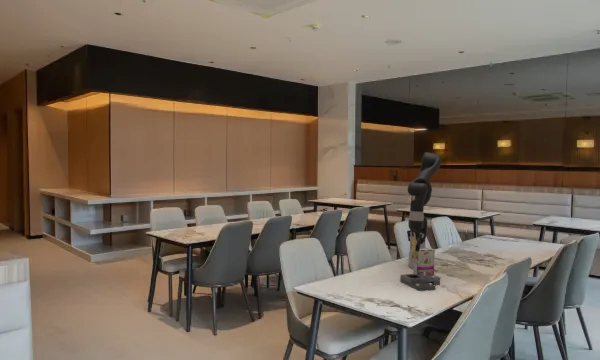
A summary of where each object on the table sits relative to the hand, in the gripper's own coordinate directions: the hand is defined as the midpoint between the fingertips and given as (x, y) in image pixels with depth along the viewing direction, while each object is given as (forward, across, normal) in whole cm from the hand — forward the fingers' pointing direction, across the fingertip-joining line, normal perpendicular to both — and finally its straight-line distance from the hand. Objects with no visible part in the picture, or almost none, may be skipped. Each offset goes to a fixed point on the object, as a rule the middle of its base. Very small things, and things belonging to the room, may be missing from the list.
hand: (415, 250), depth 243 cm
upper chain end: (+19, 0, -4) cm, 19 cm away
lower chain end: (+19, -4, 0) cm, 19 cm away
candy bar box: (+19, +12, -15) cm, 27 cm away
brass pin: (+4, 0, 0) cm, 4 cm away
